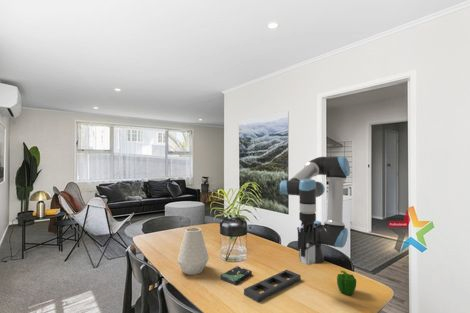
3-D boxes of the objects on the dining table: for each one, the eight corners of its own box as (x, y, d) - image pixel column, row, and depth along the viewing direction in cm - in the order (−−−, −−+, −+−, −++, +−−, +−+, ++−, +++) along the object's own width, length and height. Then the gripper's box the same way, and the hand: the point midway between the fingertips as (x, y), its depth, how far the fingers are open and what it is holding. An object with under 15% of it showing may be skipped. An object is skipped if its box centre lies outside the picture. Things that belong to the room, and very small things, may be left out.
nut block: (306, 259, 126) (306, 242, 126) (315, 262, 122) (315, 245, 122) (299, 261, 123) (300, 244, 123) (309, 265, 119) (309, 247, 119)
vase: (213, 266, 152) (213, 226, 152) (201, 279, 135) (201, 235, 135) (185, 262, 157) (186, 224, 157) (171, 275, 140) (171, 232, 140)
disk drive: (236, 270, 147) (219, 280, 135) (236, 265, 147) (220, 274, 135) (252, 275, 141) (235, 286, 129) (252, 270, 141) (235, 280, 129)
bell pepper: (358, 292, 123) (358, 270, 123) (353, 299, 117) (353, 276, 117) (340, 286, 129) (340, 266, 129) (334, 292, 122) (334, 271, 122)
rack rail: (286, 274, 142) (286, 269, 142) (300, 280, 135) (300, 275, 135) (243, 294, 120) (243, 289, 120) (257, 302, 114) (257, 296, 114)
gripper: (311, 208, 131) (311, 254, 131) (289, 213, 119) (289, 264, 119) (324, 210, 126) (324, 258, 126) (303, 216, 114) (303, 269, 114)
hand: (307, 261), depth 123 cm, fingers closed on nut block, 5 cm apart
